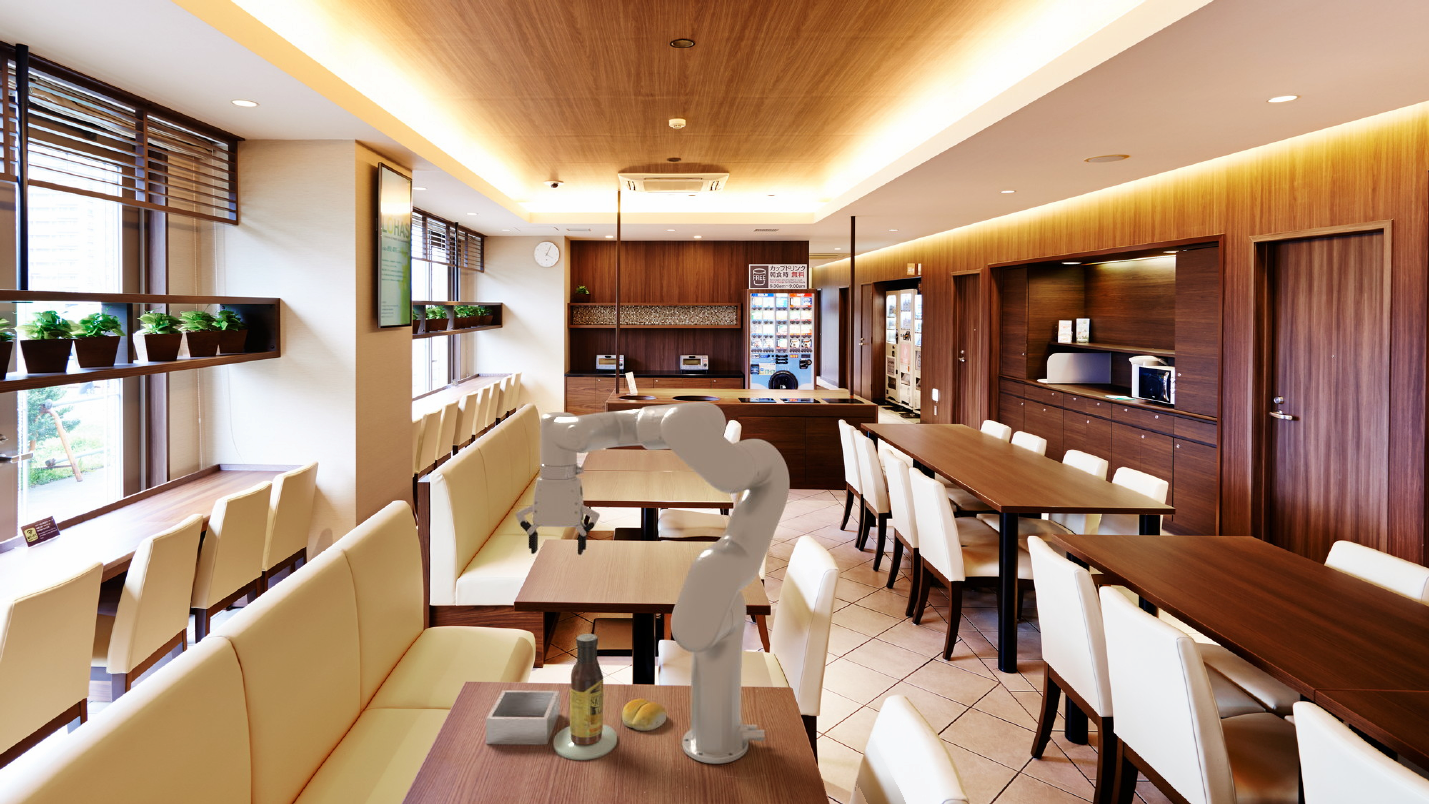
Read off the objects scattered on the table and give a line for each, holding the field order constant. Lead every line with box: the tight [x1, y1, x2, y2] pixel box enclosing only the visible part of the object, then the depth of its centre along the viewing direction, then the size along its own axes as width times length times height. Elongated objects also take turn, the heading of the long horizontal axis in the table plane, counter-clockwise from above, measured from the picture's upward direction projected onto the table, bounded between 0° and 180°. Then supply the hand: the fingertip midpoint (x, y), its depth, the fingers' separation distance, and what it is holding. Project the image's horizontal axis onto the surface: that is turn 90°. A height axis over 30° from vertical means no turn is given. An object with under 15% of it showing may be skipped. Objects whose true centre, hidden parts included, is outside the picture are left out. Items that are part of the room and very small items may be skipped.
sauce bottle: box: [569, 633, 604, 746], centre depth 141 cm, size 7×6×20 cm
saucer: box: [553, 723, 618, 761], centre depth 142 cm, size 12×12×1 cm
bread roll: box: [621, 698, 667, 732], centre depth 150 cm, size 8×9×4 cm
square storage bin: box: [485, 689, 560, 745], centre depth 147 cm, size 12×12×5 cm
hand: (557, 552), depth 155 cm, fingers open, 9 cm apart
